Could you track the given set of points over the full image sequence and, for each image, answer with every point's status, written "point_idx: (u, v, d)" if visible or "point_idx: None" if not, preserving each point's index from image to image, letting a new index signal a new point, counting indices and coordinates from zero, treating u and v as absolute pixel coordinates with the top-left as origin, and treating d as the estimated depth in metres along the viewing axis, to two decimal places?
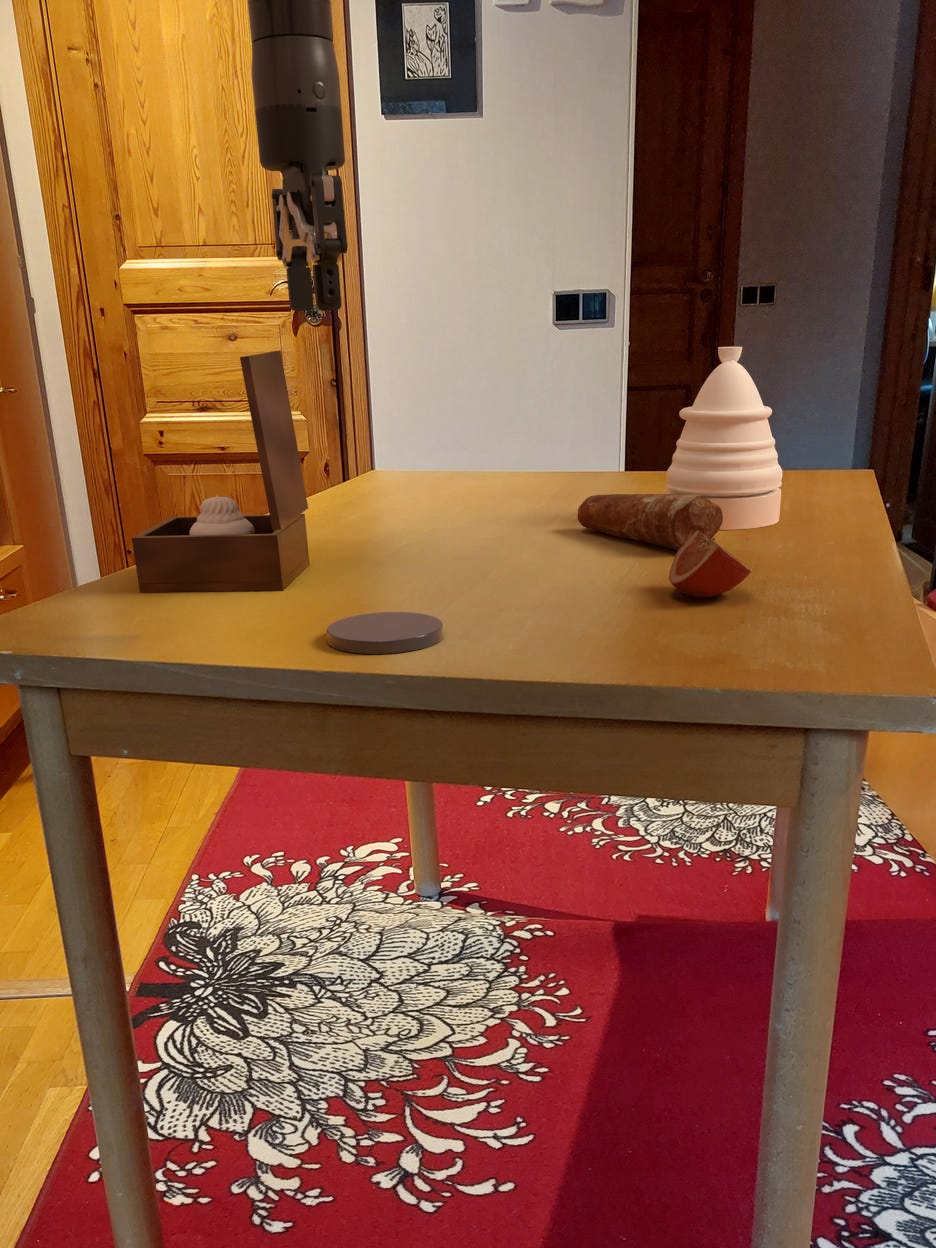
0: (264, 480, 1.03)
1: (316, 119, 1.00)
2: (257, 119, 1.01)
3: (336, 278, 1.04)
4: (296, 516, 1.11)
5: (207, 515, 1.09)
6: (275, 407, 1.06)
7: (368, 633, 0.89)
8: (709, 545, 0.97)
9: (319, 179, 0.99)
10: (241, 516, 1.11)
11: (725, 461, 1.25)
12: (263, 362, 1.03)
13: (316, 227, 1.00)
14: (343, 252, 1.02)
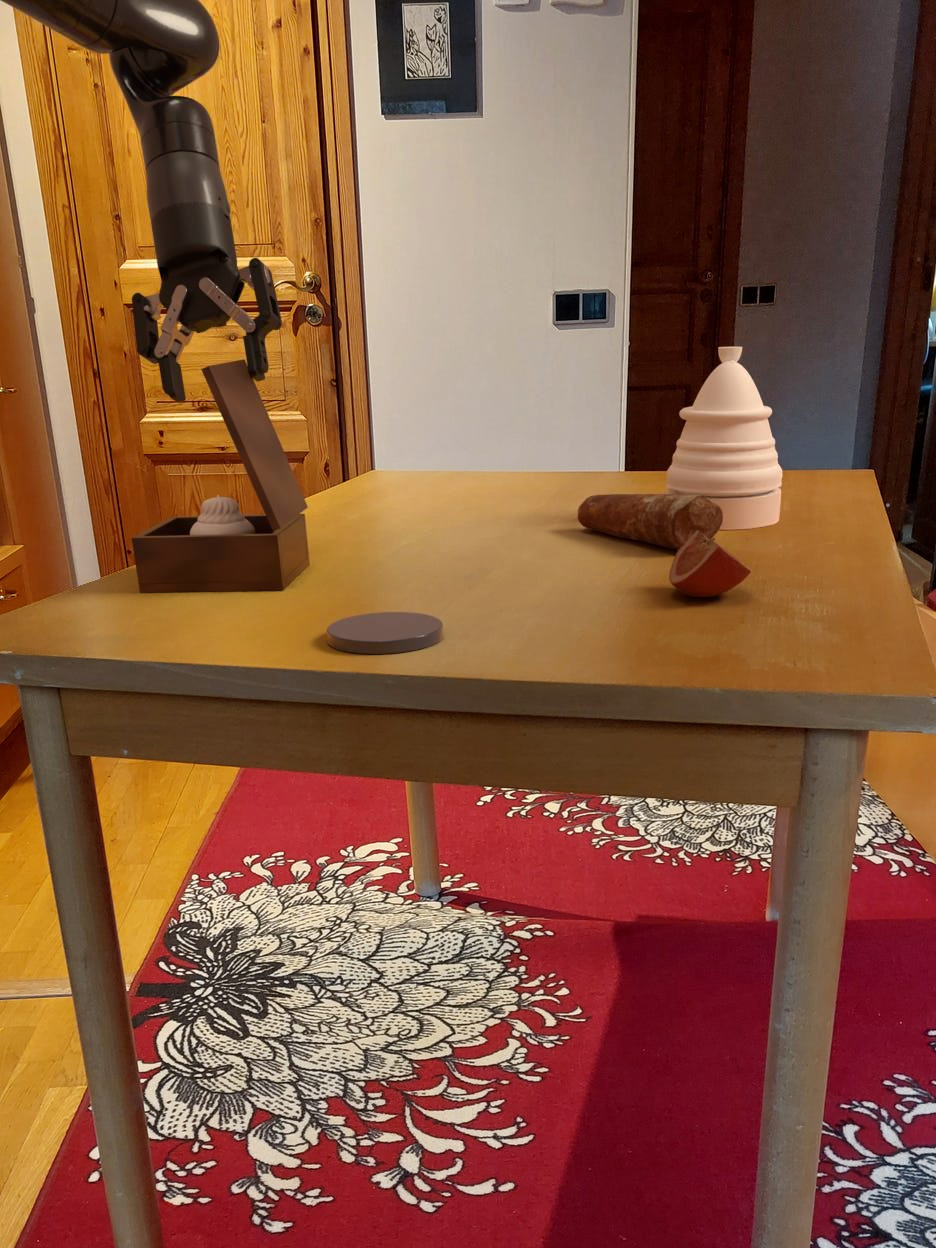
0: (253, 484, 1.04)
1: (230, 226, 1.11)
2: (173, 212, 1.08)
3: (265, 351, 1.11)
4: (295, 515, 1.11)
5: (208, 515, 1.09)
6: (250, 413, 1.07)
7: (368, 633, 0.89)
8: (709, 545, 0.97)
9: (261, 262, 1.09)
10: (242, 517, 1.11)
11: (725, 461, 1.25)
12: (227, 371, 1.04)
13: (261, 299, 1.09)
14: (278, 327, 1.11)
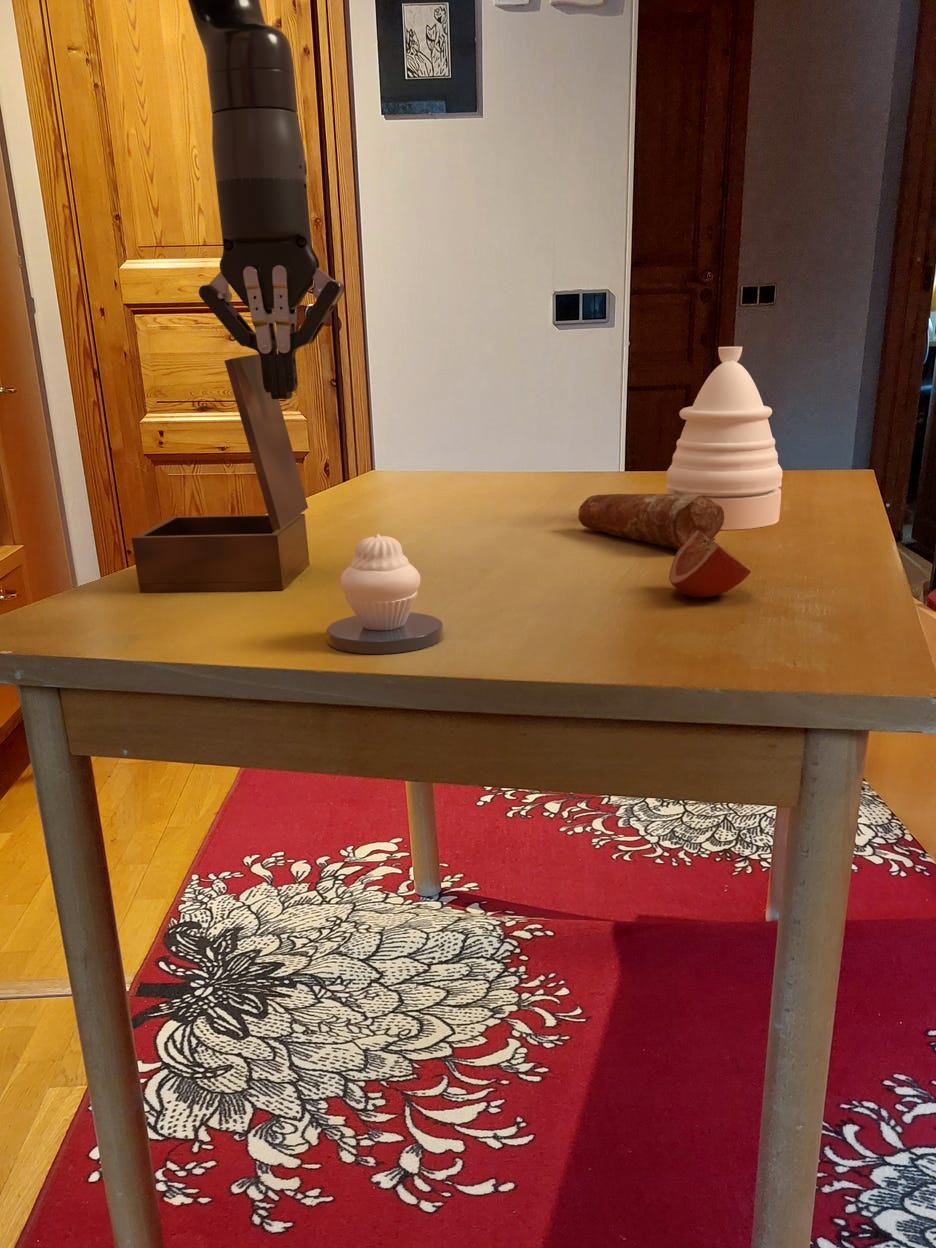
0: (260, 481, 1.03)
1: (307, 195, 0.99)
2: (251, 188, 0.95)
3: None
4: (296, 516, 1.11)
5: (366, 560, 0.87)
6: (265, 408, 1.06)
7: (368, 633, 0.89)
8: (709, 545, 0.97)
9: (339, 290, 1.01)
10: (407, 561, 0.88)
11: (725, 461, 1.25)
12: (249, 364, 1.04)
13: (310, 322, 1.01)
14: None
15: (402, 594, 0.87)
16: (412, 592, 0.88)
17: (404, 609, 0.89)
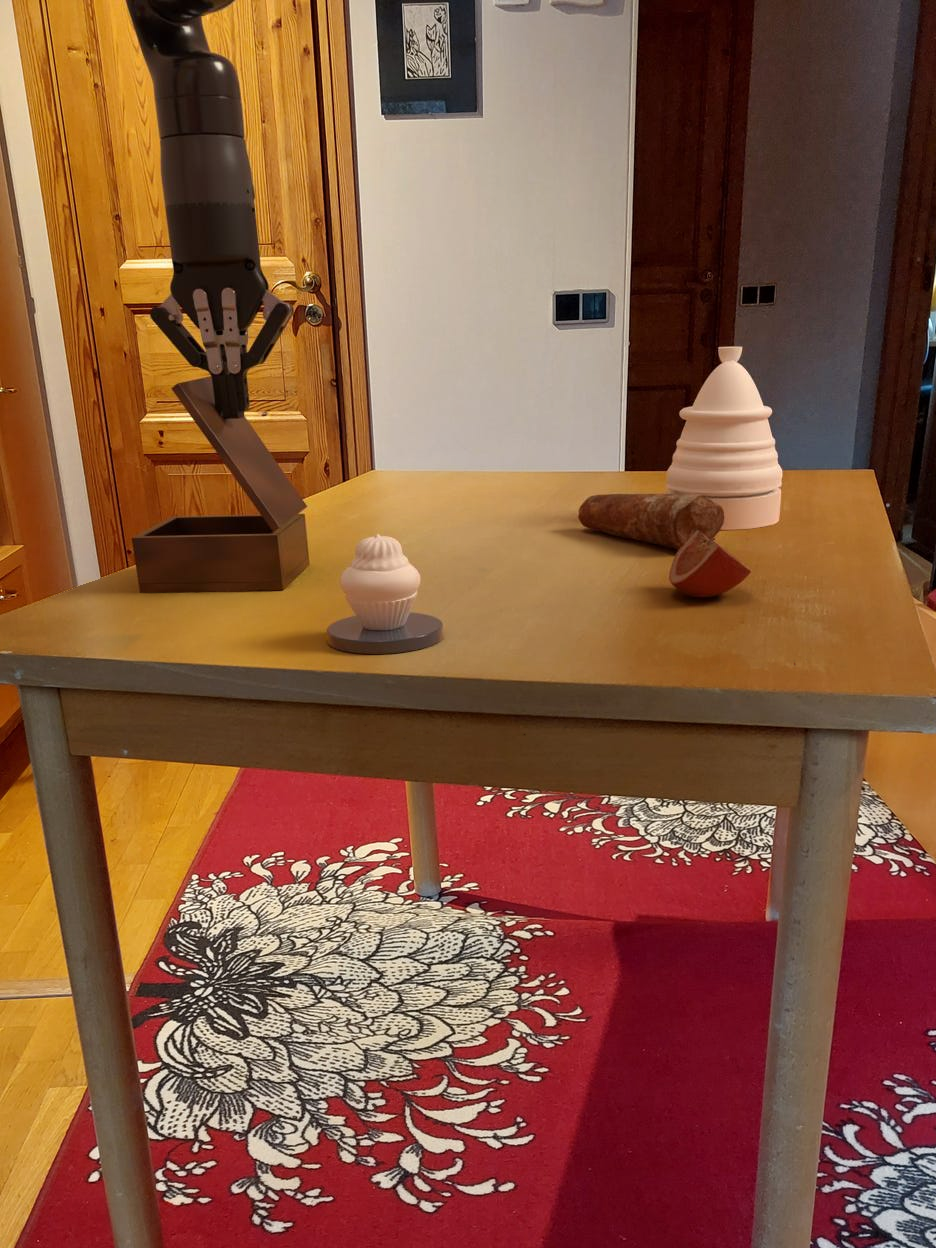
0: (244, 489, 1.04)
1: (255, 219, 1.00)
2: (199, 212, 0.96)
3: (247, 387, 1.06)
4: (295, 514, 1.11)
5: (366, 560, 0.87)
6: (229, 423, 1.07)
7: (368, 633, 0.89)
8: (709, 545, 0.97)
9: (288, 312, 1.02)
10: (407, 561, 0.88)
11: (725, 461, 1.25)
12: (198, 386, 1.05)
13: (260, 343, 1.03)
14: (257, 363, 1.05)
15: (402, 594, 0.87)
16: (412, 592, 0.88)
17: (404, 609, 0.89)
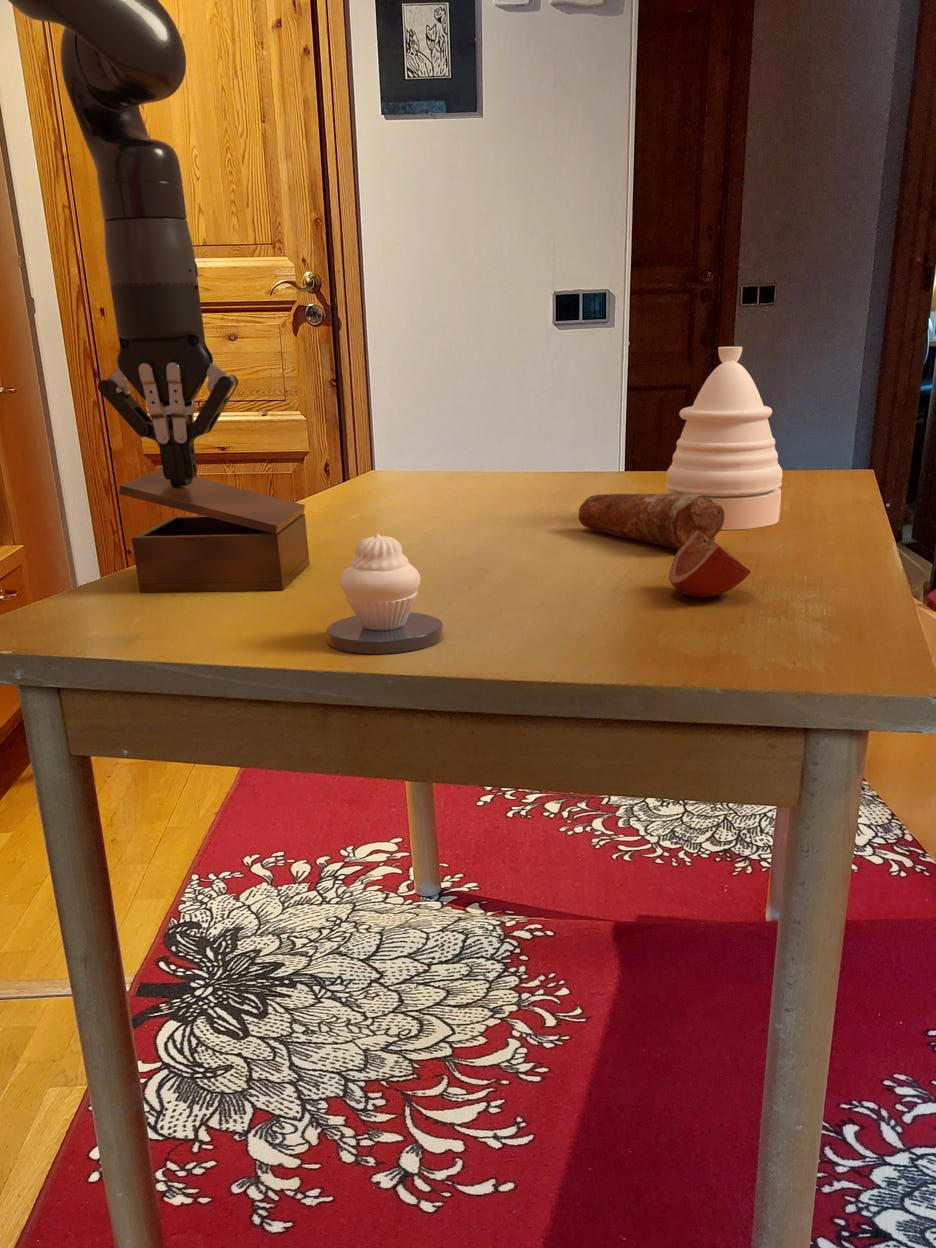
0: (229, 520, 1.05)
1: (198, 296, 1.03)
2: (142, 292, 0.99)
3: (194, 455, 1.09)
4: (292, 513, 1.11)
5: (366, 560, 0.87)
6: (189, 488, 1.10)
7: (368, 633, 0.89)
8: (709, 545, 0.97)
9: (232, 384, 1.05)
10: (407, 561, 0.88)
11: (725, 461, 1.25)
12: (144, 480, 1.09)
13: (205, 414, 1.06)
14: None
15: (402, 594, 0.87)
16: (412, 592, 0.88)
17: (404, 609, 0.89)
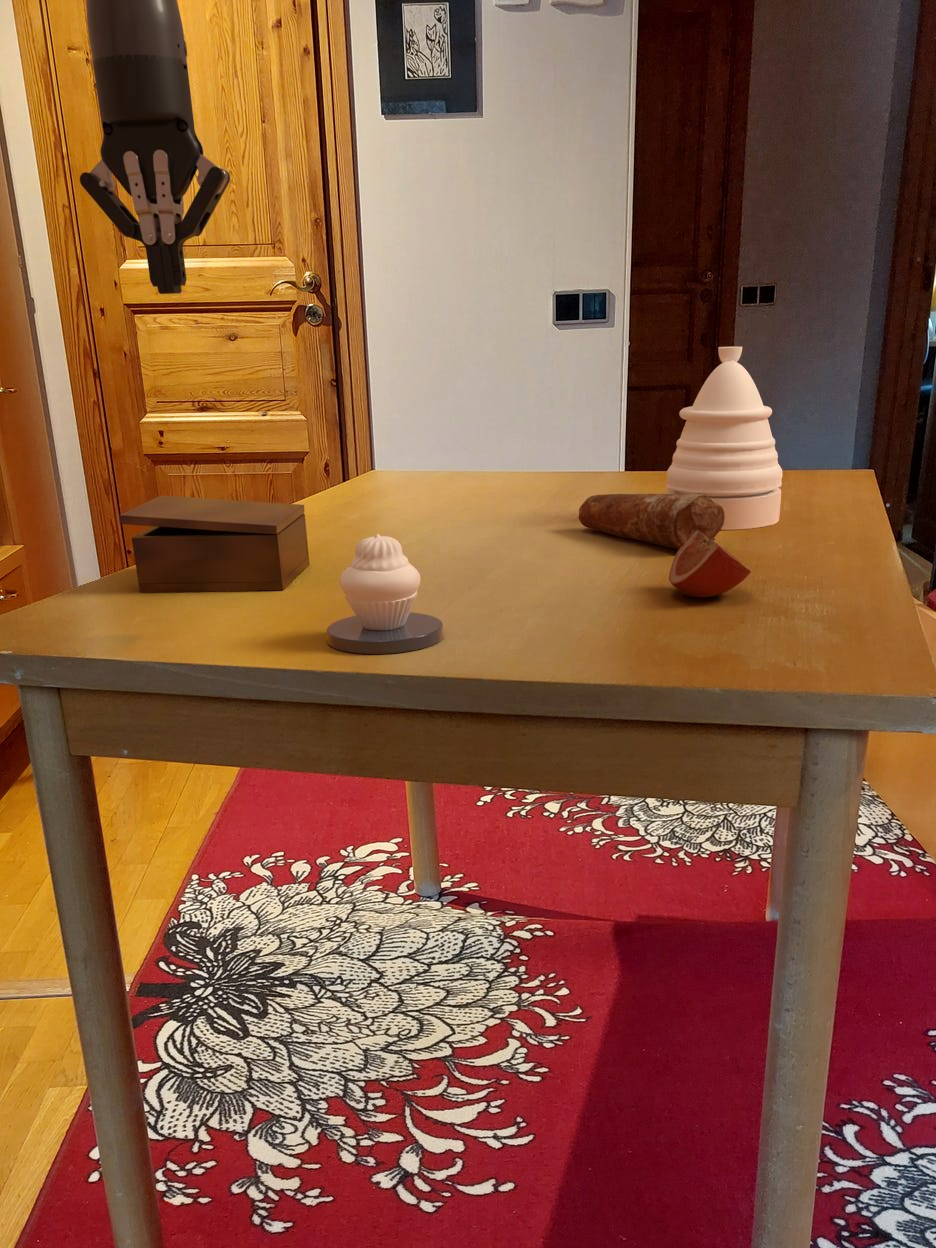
0: (229, 529, 1.06)
1: (187, 78, 0.96)
2: (126, 65, 0.93)
3: (183, 260, 1.02)
4: (291, 513, 1.11)
5: (366, 560, 0.87)
6: (188, 507, 1.11)
7: (368, 633, 0.89)
8: (709, 545, 0.97)
9: (223, 177, 0.98)
10: (407, 561, 0.88)
11: (725, 461, 1.25)
12: (143, 507, 1.10)
13: (194, 210, 0.99)
14: (193, 235, 1.02)
15: (402, 594, 0.87)
16: (412, 592, 0.88)
17: (404, 609, 0.89)
